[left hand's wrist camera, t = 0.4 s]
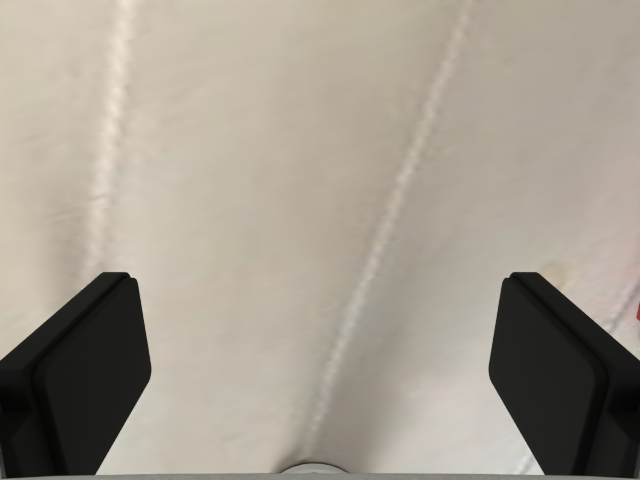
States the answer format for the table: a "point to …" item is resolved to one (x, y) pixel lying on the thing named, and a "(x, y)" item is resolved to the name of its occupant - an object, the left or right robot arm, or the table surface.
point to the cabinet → (639, 315)
